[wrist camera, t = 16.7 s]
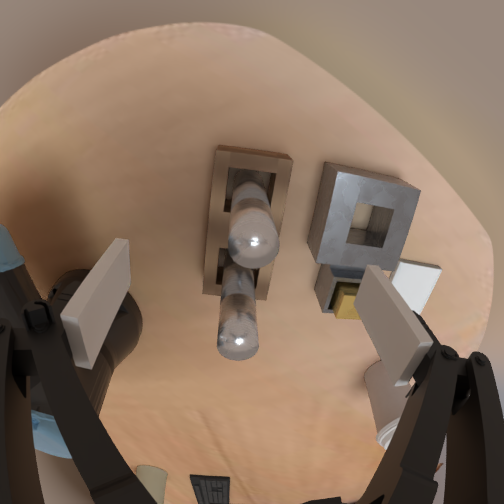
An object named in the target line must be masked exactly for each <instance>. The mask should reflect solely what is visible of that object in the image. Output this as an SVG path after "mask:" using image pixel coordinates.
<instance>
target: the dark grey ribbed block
mask: <svg viewBox="0 0 504 504" xmlns="http://www.w3.org/2000/svg"><path fill="white" fill-rule="evenodd" d="M190 480H191V483H192V486H193V489H194V492H195V495H196V498H197V501H198V504H210V503H222V504H229V486H230V477H222V476H204V475H190Z"/></svg>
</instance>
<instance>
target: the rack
mask: <svg viewBox="0 0 504 504" xmlns="http://www.w3.org/2000/svg"><path fill="white" fill-rule="evenodd" d="M292 165H293V160H292V159H291V158H290V157H289V155H288V154H282V153H276V152H269V151H262V150H255V149H248V148H240V147H232V146H223V145H219V146H218V148H217V149H216V154H215V163H214V172H213V181H212V190H211V200H210V209H209V220H208V230H207V242H206V253H205V266H204V279H203V293H202V294H208V295H217V296H221V292H222V281H223V270H224V267H218V260H219V250H220V248H226V249H228V237H229V226H230V214H231V204H232V201H229V200H225V198H226V189H227V181H228V173H229V167H232V168H241V169H248V170H256V171H263V172H270V173H271V177H270V183H269V189H268V195H267V198H268V201H269V205H270V209H271V212H272V216H273V220H274V223H275V227H276V231H277V234H278V238H279V234H280V229H281V224H282V219H283V214H284V208H285V203H286V198H287V192H288V187H289V182H290V176H291V171H292ZM274 260H275V259H274ZM274 260H273V261H272V262H271V263H269V264H268V265H266V266H264V267H261V268H255V271H253V274H254V288H255V299H256V300H266V299H267V294H268V289H269V284H270V280H271V275H272V270H273V265H274Z"/></svg>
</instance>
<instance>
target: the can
mask: <svg viewBox="0 0 504 504" xmlns="http://www.w3.org/2000/svg"><path fill="white" fill-rule="evenodd" d="M167 475H168V474H167V472H166V471H164V470H162V469H160V468H157V467H153V466H148V465H139V466H137V472H136V476H137V477H138V479H139V480H140V481H141V483H142V484H143V485H144V486H145V488H146V489H147V490H148V492H149V493H150V494H151V496H152V497H153V498H154V500H155V501H156V502H157V503H158V504H164V495H165V486H166V479H167Z"/></svg>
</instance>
